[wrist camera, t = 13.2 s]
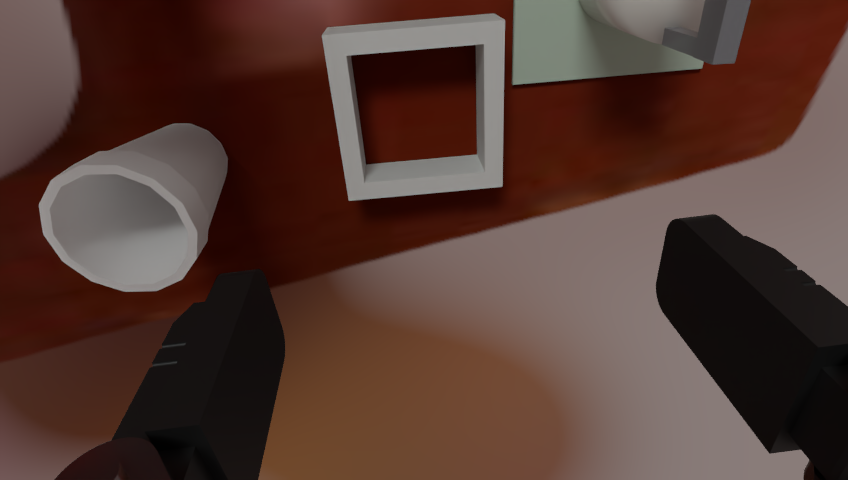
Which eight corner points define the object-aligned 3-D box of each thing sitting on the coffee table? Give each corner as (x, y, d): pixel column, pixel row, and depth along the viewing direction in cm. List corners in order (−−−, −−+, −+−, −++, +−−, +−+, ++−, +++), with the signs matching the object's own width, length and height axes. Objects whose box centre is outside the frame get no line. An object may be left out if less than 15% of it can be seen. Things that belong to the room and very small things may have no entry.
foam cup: (130, 92, 39) (29, 148, 28) (249, 117, 41) (198, 180, 30) (135, 196, 44) (50, 281, 33) (242, 215, 46) (195, 301, 35)
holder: (327, 27, 38) (321, 35, 35) (494, 13, 38) (504, 20, 35) (351, 181, 45) (348, 200, 41) (493, 168, 45) (502, 186, 42)
